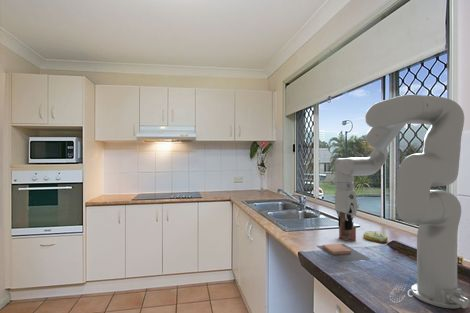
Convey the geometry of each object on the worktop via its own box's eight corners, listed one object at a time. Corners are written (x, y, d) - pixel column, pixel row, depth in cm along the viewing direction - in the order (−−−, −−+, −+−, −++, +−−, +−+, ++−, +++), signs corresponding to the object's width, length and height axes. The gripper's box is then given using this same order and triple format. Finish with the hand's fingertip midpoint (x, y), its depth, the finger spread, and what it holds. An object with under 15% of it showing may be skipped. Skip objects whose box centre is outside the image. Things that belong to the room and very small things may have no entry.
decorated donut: (386, 245, 127) (386, 237, 127) (361, 241, 133) (361, 233, 133) (388, 239, 135) (388, 232, 135) (365, 236, 141) (365, 228, 141)
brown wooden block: (352, 236, 116) (351, 206, 116) (343, 237, 115) (343, 206, 115) (346, 234, 120) (346, 204, 120) (338, 234, 119) (338, 205, 119)
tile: (351, 250, 114) (333, 251, 112) (351, 253, 114) (333, 255, 112) (339, 243, 122) (322, 244, 121) (339, 246, 122) (322, 247, 121)
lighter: (356, 240, 133) (356, 220, 133) (355, 242, 130) (355, 222, 130) (339, 238, 137) (339, 218, 137) (338, 240, 134) (338, 220, 134)
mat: (371, 260, 107) (371, 259, 107) (339, 263, 105) (339, 261, 105) (343, 245, 126) (343, 244, 126) (316, 247, 124) (316, 245, 124)
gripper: (364, 188, 110) (365, 232, 110) (341, 184, 127) (342, 223, 126) (348, 188, 109) (348, 233, 109) (326, 184, 125) (327, 224, 125)
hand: (345, 227), depth 118 cm, fingers closed on brown wooden block, 4 cm apart
